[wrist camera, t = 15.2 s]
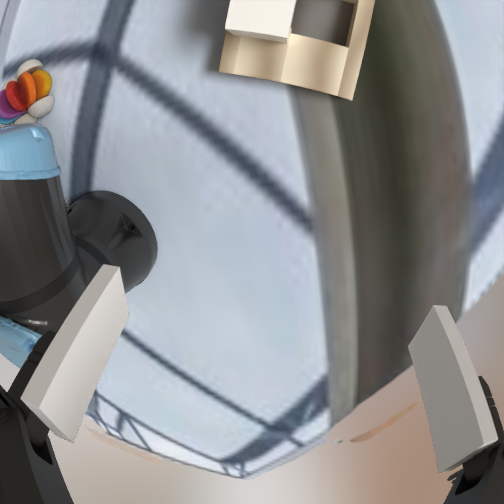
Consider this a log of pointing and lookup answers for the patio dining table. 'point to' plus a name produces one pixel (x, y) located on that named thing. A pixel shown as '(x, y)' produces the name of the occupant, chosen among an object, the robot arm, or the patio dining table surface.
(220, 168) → the patio dining table surface
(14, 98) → the rainbow stacked discs
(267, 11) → the power strip
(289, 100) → the patio dining table surface
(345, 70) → the square hole board
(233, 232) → the patio dining table surface
